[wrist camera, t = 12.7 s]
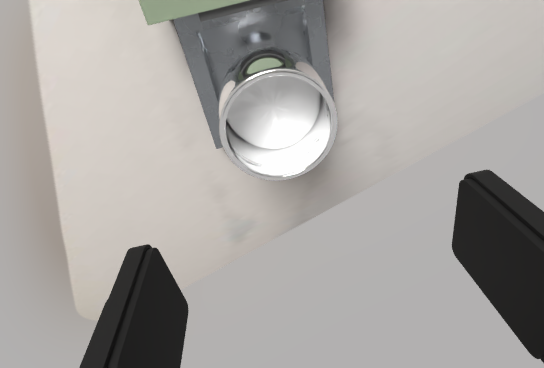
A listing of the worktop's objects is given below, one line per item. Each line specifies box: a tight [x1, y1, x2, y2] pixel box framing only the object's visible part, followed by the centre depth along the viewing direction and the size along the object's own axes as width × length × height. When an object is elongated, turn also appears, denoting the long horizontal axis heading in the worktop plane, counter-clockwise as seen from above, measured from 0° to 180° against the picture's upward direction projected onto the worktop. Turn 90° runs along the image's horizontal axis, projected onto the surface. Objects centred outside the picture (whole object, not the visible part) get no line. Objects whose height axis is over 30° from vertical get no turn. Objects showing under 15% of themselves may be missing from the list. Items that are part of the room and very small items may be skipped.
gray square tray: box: [173, 0, 334, 149], centre depth 31 cm, size 12×12×3 cm
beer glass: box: [218, 31, 338, 181], centre depth 25 cm, size 7×7×15 cm
